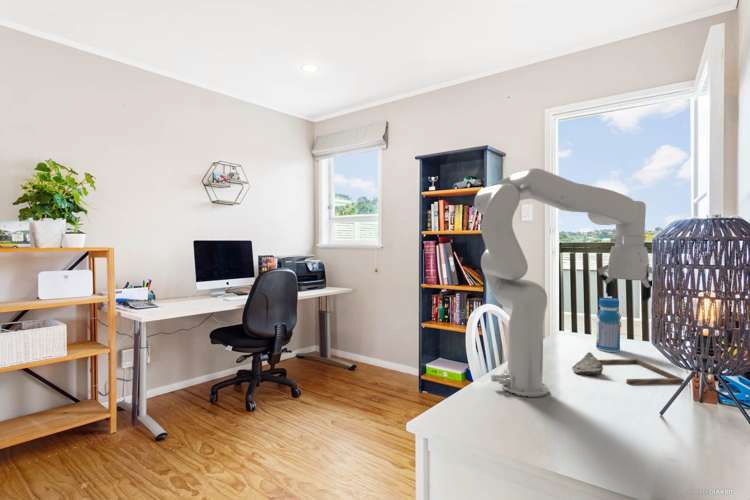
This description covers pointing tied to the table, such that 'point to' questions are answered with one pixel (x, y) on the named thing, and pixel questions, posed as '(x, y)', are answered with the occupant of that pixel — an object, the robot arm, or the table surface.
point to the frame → (670, 377)
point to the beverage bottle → (608, 325)
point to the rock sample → (588, 365)
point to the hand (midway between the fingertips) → (627, 298)
